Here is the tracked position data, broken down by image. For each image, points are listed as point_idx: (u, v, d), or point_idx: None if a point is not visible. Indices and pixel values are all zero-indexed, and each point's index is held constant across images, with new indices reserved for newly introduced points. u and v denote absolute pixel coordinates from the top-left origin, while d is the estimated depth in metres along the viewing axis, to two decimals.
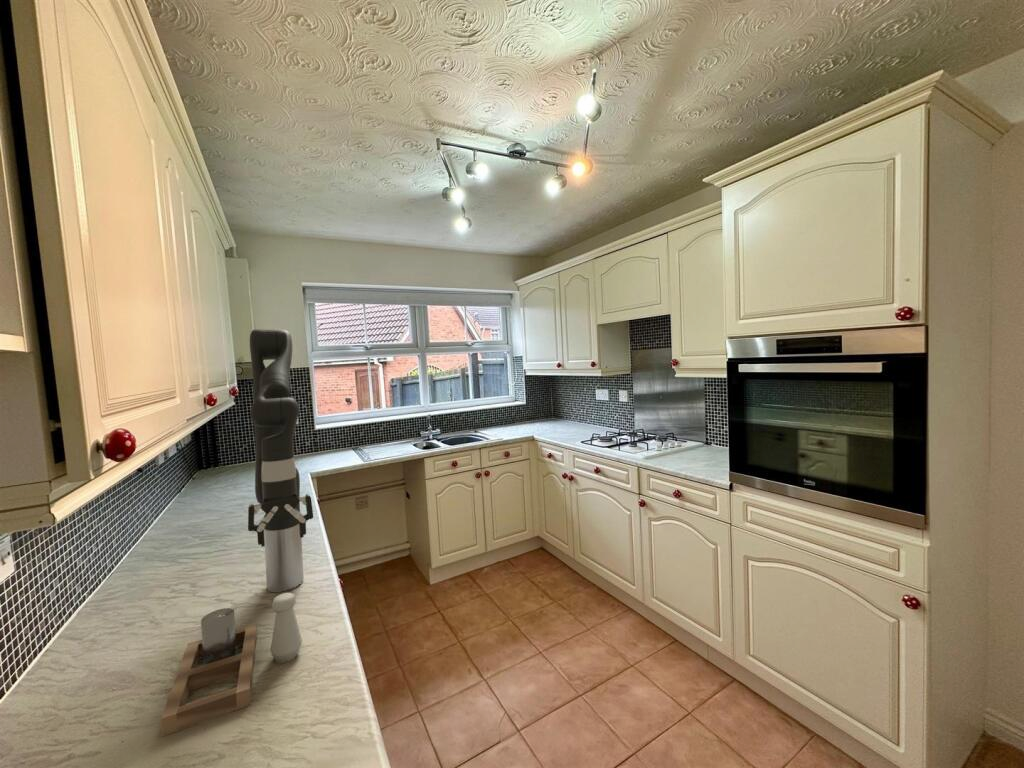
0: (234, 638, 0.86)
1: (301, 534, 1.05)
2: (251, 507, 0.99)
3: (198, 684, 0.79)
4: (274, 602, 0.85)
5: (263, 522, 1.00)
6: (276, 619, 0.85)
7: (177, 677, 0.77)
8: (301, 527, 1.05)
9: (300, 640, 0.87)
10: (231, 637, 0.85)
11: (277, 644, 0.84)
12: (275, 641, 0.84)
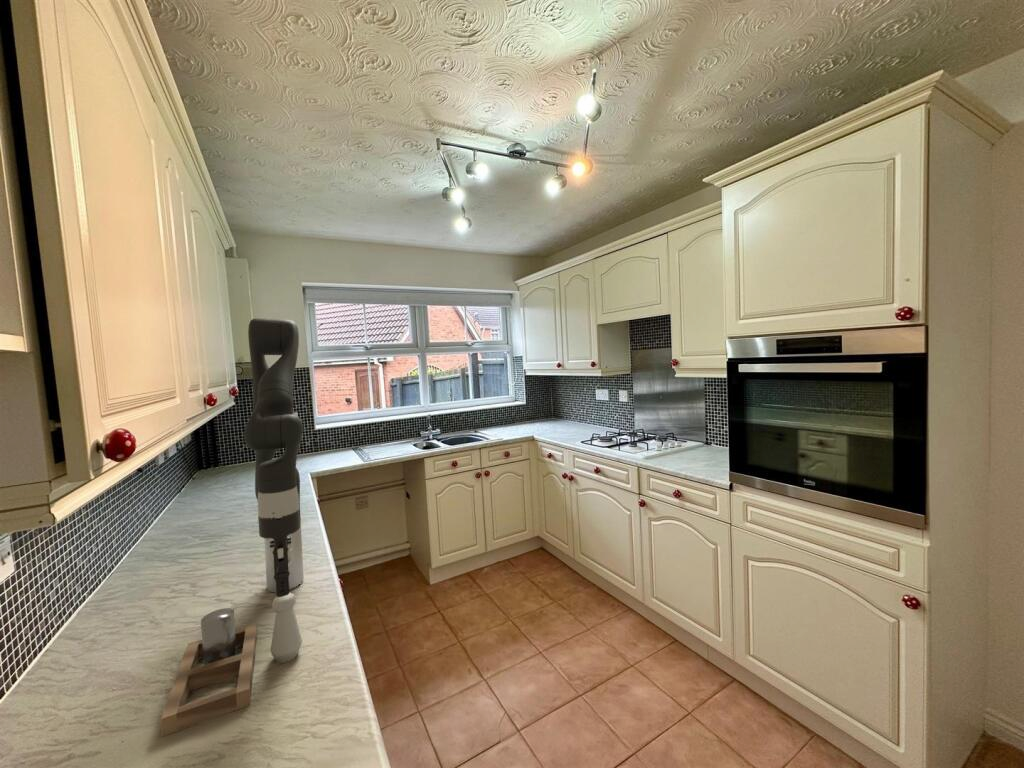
0: (234, 638, 0.86)
1: None
2: (287, 547, 0.81)
3: (198, 684, 0.79)
4: (274, 602, 0.85)
5: (289, 563, 0.84)
6: (276, 619, 0.85)
7: (177, 677, 0.77)
8: None
9: (300, 640, 0.87)
10: (231, 637, 0.85)
11: (277, 644, 0.84)
12: (275, 641, 0.84)
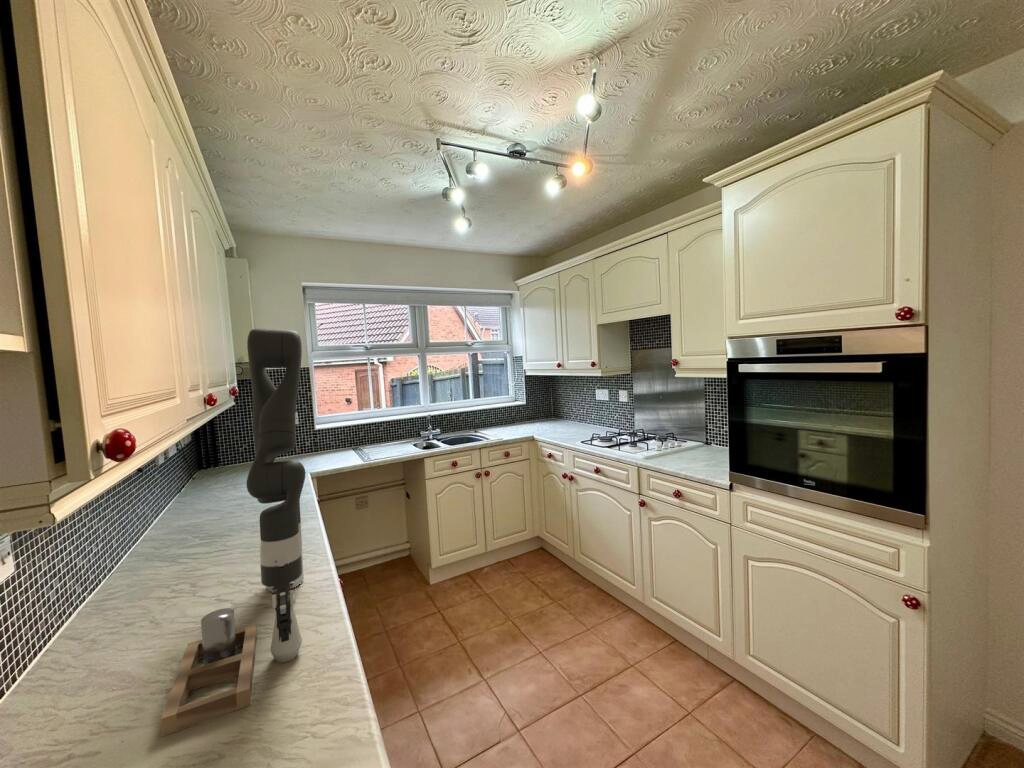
0: (234, 638, 0.86)
1: None
2: (290, 603, 0.82)
3: (198, 684, 0.79)
4: None
5: (291, 611, 0.85)
6: (276, 619, 0.85)
7: (177, 677, 0.77)
8: None
9: (300, 640, 0.87)
10: (231, 637, 0.85)
11: (277, 644, 0.84)
12: (275, 641, 0.84)
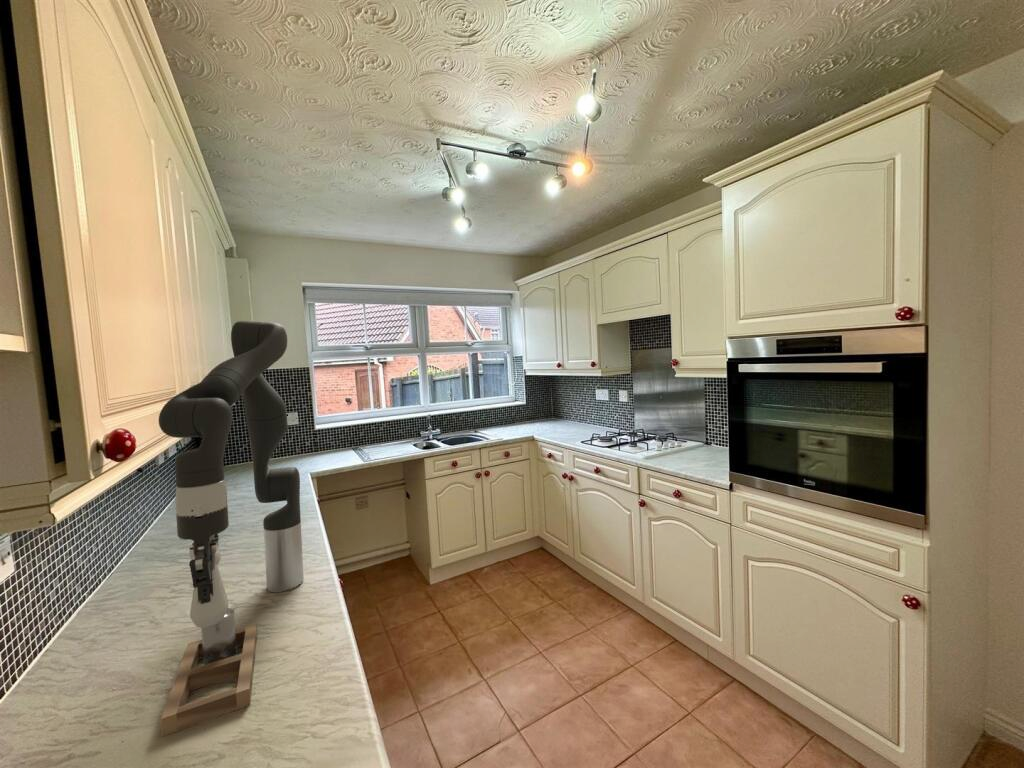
0: (234, 638, 0.86)
1: None
2: (208, 558, 0.71)
3: (198, 684, 0.79)
4: None
5: (213, 569, 0.74)
6: None
7: (177, 677, 0.77)
8: None
9: (226, 603, 0.76)
10: (231, 637, 0.85)
11: (196, 605, 0.73)
12: (194, 602, 0.73)
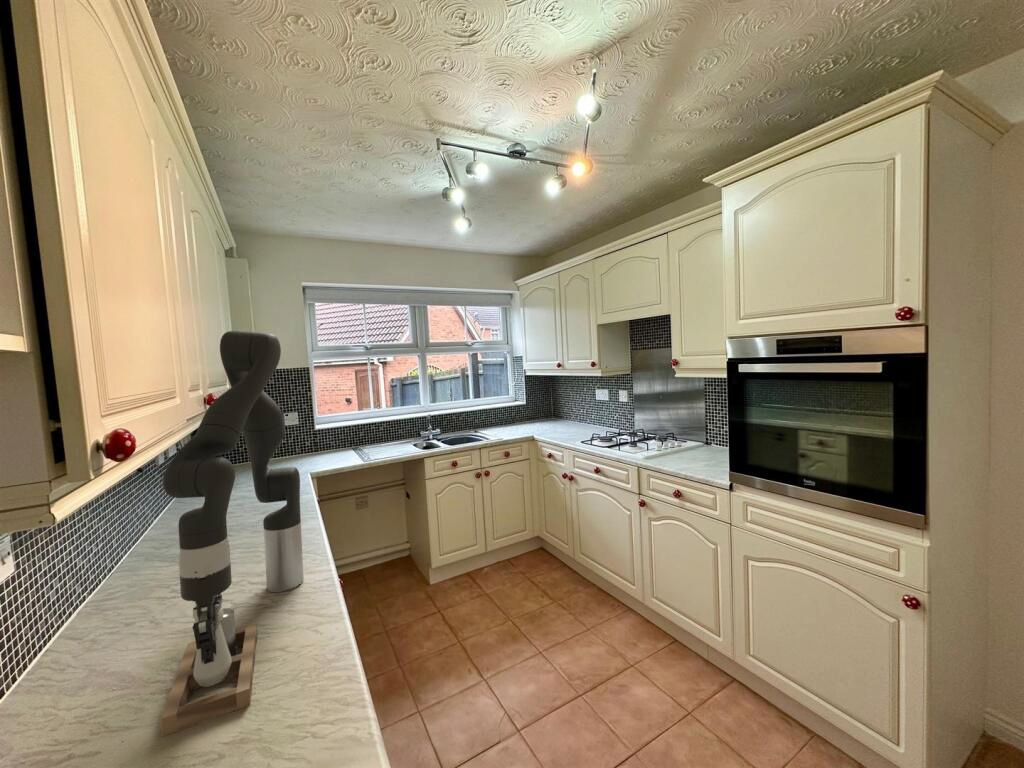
0: (234, 638, 0.86)
1: None
2: (211, 621, 0.71)
3: (198, 684, 0.79)
4: None
5: (216, 628, 0.74)
6: None
7: (177, 677, 0.77)
8: None
9: (229, 660, 0.77)
10: (231, 637, 0.85)
11: (199, 665, 0.74)
12: (197, 662, 0.74)
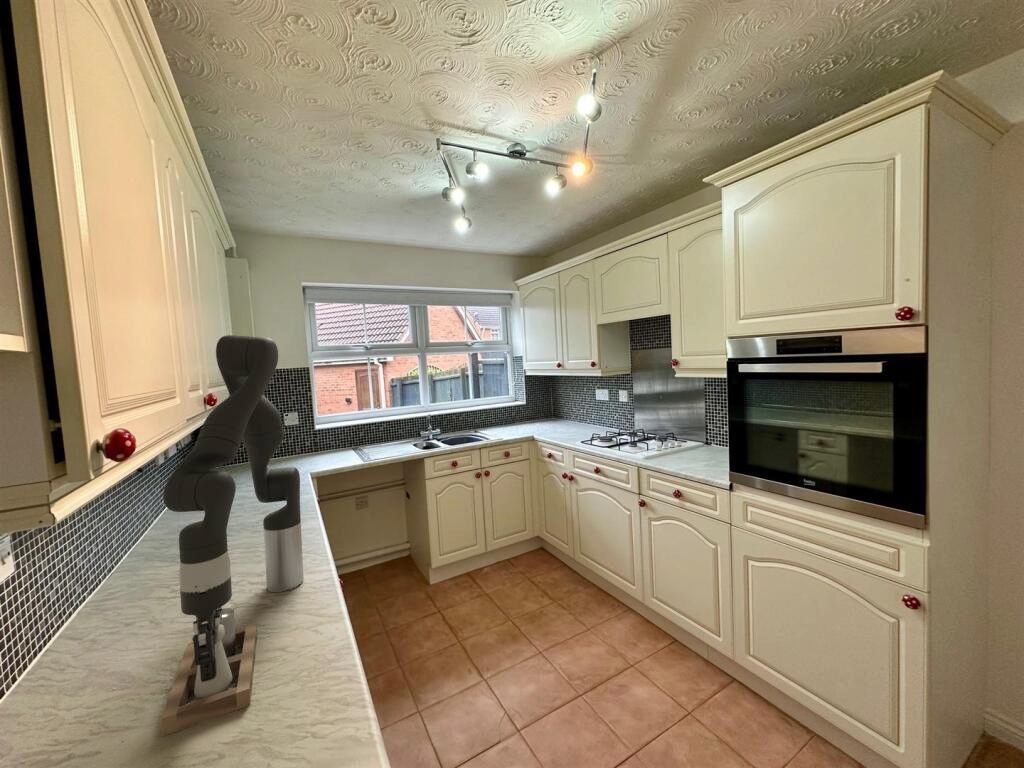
0: (234, 638, 0.86)
1: None
2: (211, 632, 0.71)
3: None
4: None
5: None
6: None
7: (177, 677, 0.77)
8: None
9: (229, 678, 0.77)
10: (231, 637, 0.85)
11: (200, 683, 0.74)
12: (198, 680, 0.74)
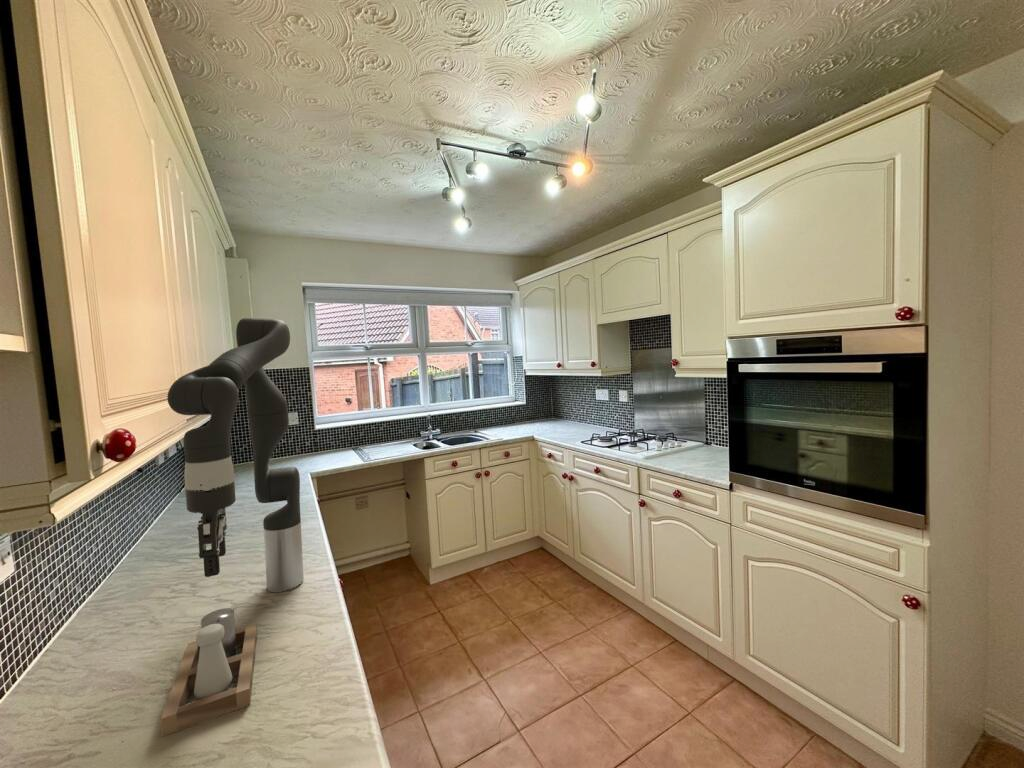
0: (234, 638, 0.86)
1: (225, 550, 0.83)
2: (215, 523, 0.73)
3: None
4: (197, 636, 0.74)
5: (219, 540, 0.76)
6: (200, 655, 0.75)
7: (177, 677, 0.77)
8: (224, 541, 0.83)
9: (229, 678, 0.77)
10: (231, 637, 0.85)
11: (200, 684, 0.74)
12: (198, 680, 0.74)
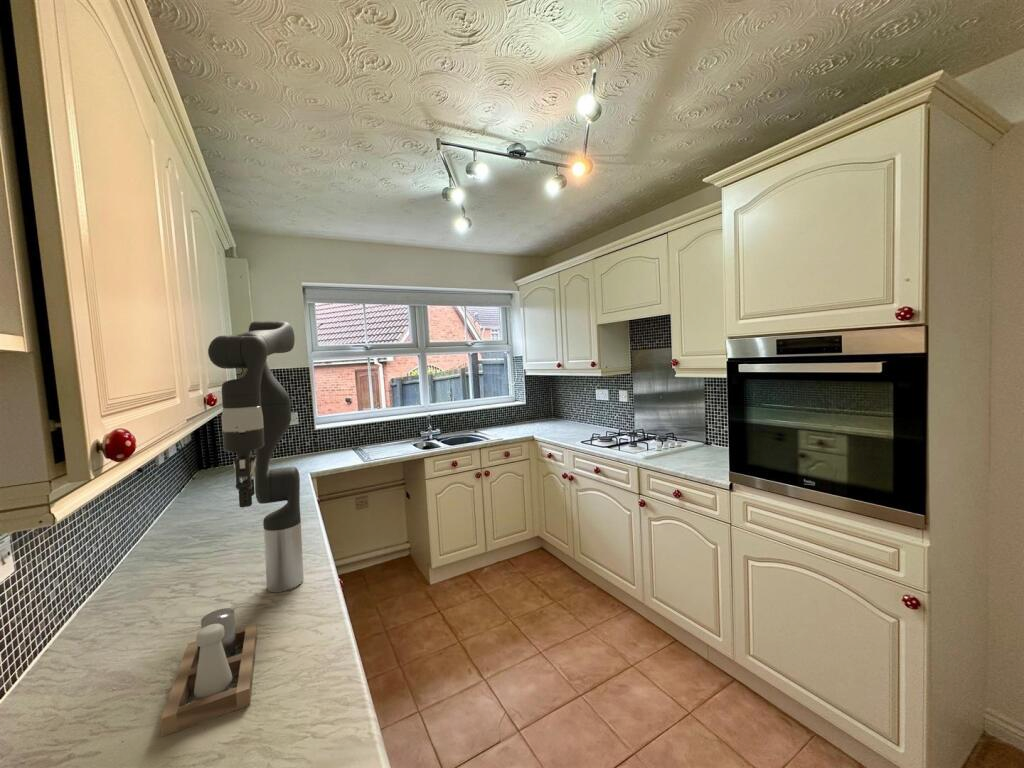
0: (234, 638, 0.86)
1: (254, 491, 0.94)
2: (249, 459, 0.85)
3: None
4: (197, 636, 0.74)
5: (252, 476, 0.87)
6: (200, 655, 0.75)
7: (177, 677, 0.77)
8: None
9: (229, 678, 0.77)
10: (231, 637, 0.85)
11: (200, 684, 0.74)
12: (198, 680, 0.74)
